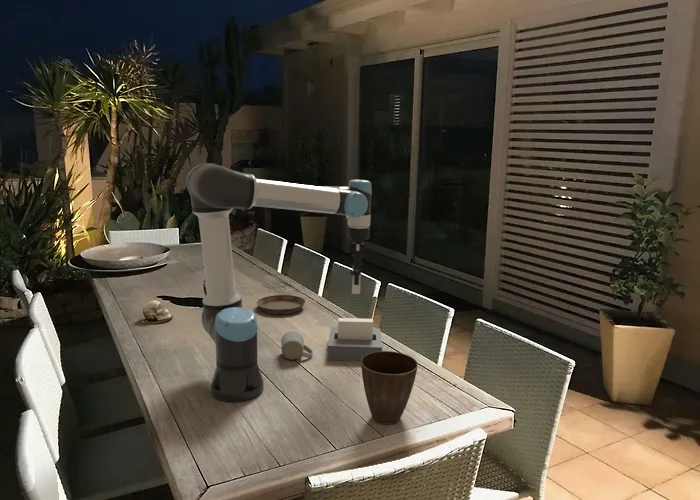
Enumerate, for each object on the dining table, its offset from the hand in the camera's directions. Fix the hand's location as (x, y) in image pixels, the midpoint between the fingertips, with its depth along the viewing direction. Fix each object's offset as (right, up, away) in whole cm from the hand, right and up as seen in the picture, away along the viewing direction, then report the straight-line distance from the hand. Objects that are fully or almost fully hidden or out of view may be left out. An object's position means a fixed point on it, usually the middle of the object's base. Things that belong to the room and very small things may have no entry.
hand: (356, 288), depth 188 cm
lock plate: (0, -22, +5) cm, 23 cm away
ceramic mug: (-20, -23, -1) cm, 31 cm away
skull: (-79, -15, +30) cm, 86 cm away
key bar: (0, -21, +5) cm, 22 cm away
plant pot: (+8, -32, -40) cm, 52 cm away
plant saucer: (-32, -12, +48) cm, 59 cm away
